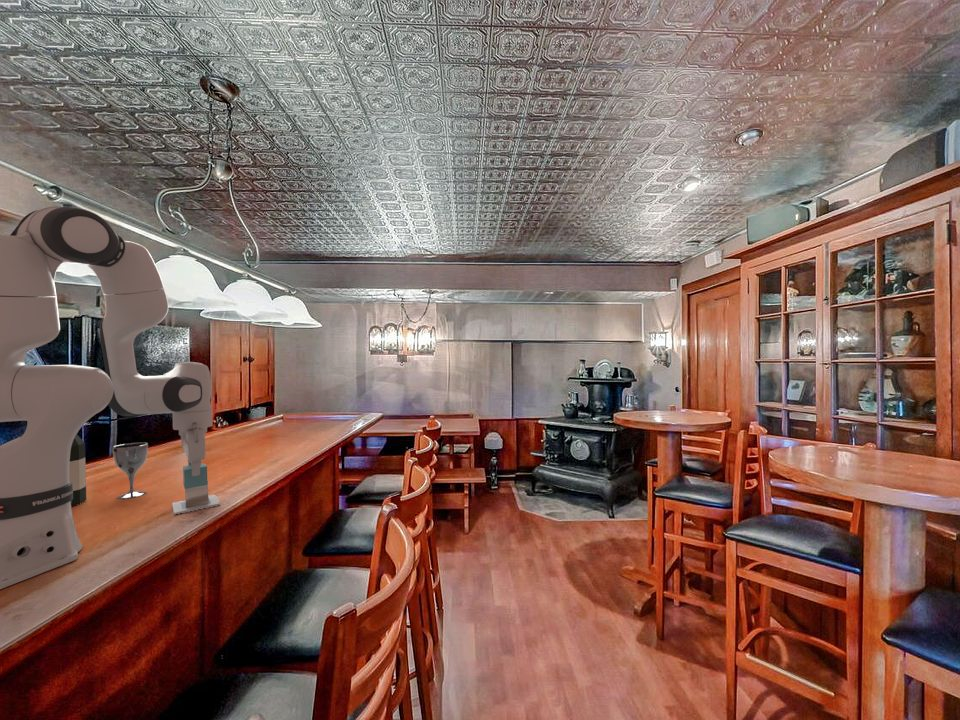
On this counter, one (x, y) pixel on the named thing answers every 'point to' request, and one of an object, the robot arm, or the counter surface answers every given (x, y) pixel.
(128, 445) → the wine glass
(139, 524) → the counter surface
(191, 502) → the off-white block
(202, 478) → the teal block
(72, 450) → the wine bottle
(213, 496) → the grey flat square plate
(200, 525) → the counter surface
